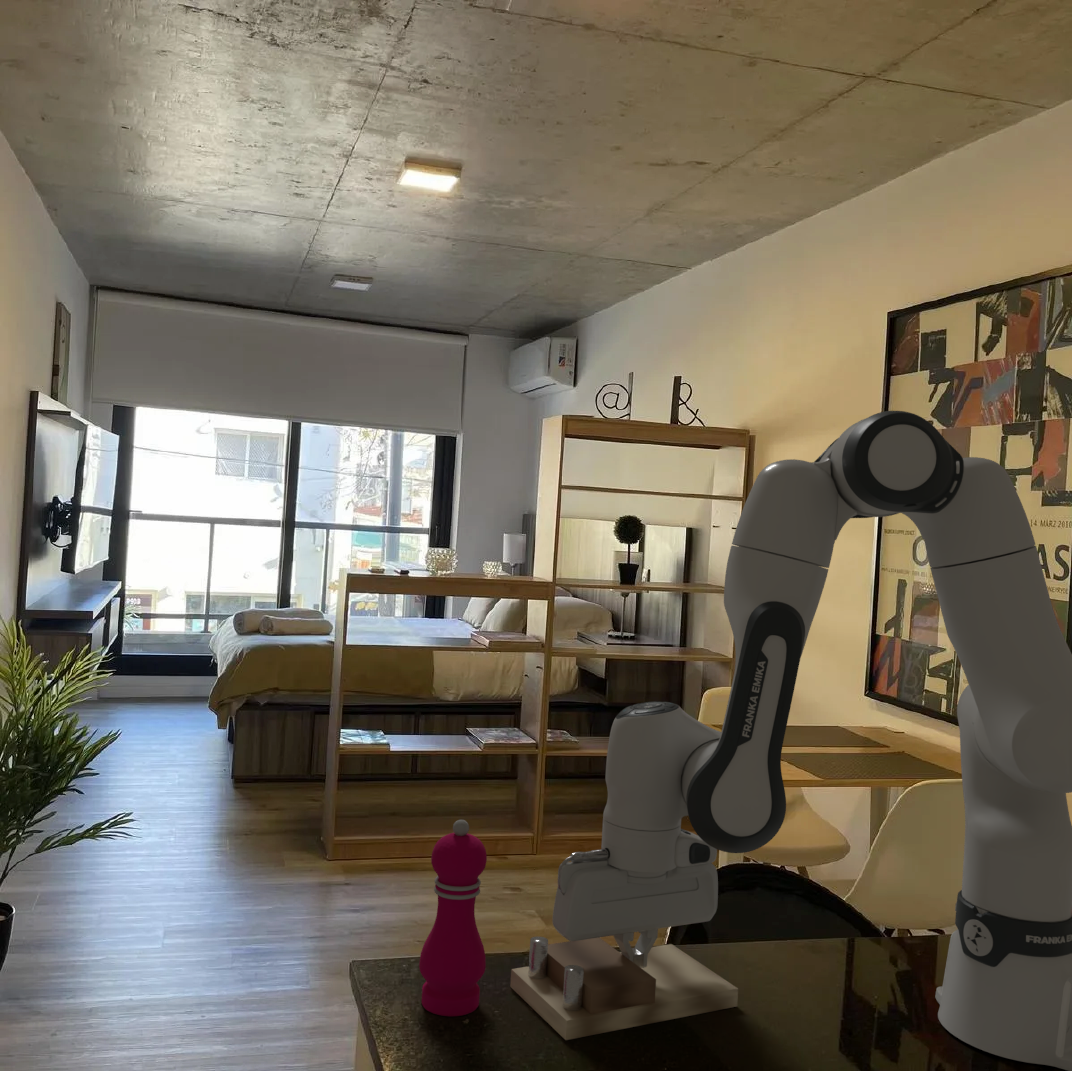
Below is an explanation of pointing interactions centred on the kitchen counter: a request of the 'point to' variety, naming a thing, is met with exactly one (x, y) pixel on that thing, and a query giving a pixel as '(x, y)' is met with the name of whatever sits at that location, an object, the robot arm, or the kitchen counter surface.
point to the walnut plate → (601, 975)
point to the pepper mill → (454, 927)
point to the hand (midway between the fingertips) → (633, 967)
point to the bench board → (676, 995)
